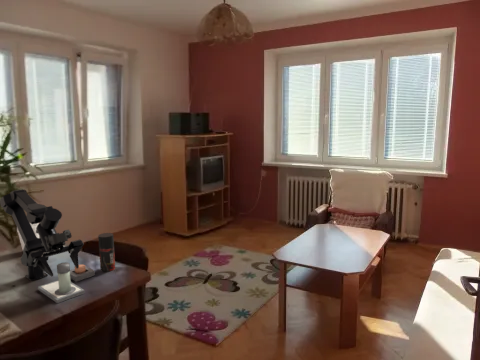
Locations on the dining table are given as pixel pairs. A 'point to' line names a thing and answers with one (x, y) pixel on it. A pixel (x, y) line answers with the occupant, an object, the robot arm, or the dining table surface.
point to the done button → (80, 269)
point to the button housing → (81, 276)
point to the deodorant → (106, 252)
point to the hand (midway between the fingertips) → (65, 271)
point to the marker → (64, 277)
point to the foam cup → (34, 232)
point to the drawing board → (55, 295)
